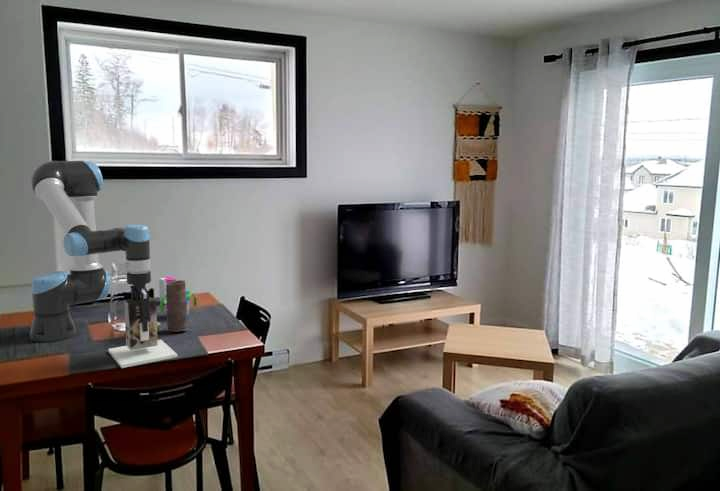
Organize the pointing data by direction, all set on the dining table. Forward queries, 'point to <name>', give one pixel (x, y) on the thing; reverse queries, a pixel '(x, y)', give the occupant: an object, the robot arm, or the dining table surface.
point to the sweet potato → (176, 306)
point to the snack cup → (188, 297)
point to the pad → (141, 354)
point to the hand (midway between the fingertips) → (141, 337)
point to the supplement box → (164, 287)
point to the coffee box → (134, 327)
